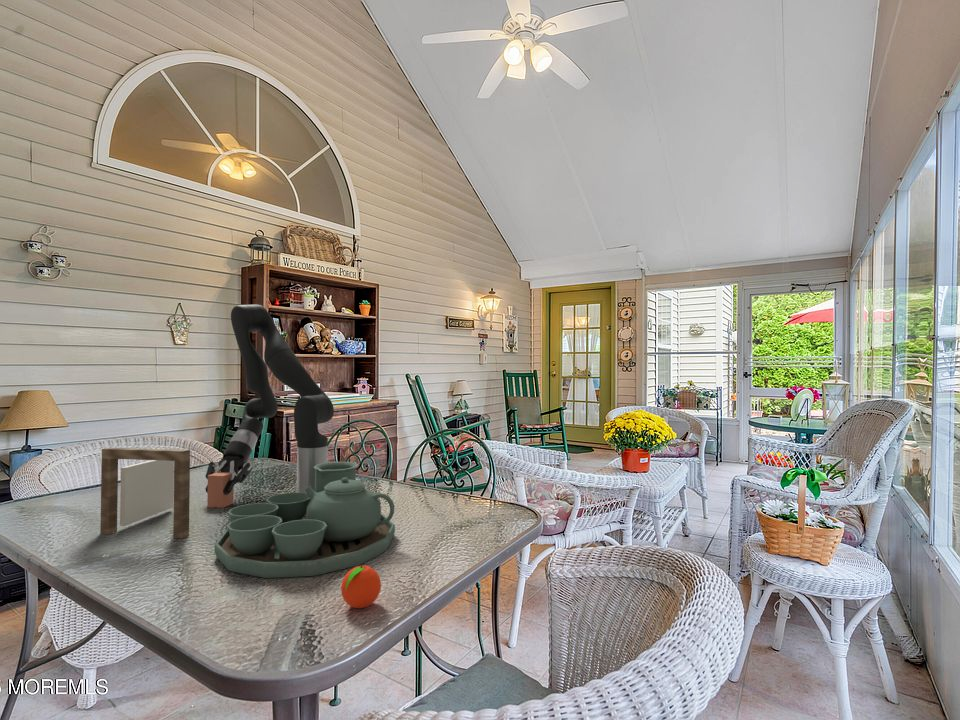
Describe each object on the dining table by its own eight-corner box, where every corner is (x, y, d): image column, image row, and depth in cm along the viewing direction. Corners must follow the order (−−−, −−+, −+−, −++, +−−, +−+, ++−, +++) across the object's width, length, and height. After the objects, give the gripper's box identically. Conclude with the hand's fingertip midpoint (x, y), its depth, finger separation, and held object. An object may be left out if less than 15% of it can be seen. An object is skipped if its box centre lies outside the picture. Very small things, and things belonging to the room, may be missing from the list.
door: (165, 507, 146) (166, 455, 146) (173, 507, 146) (174, 456, 146) (115, 525, 129) (116, 467, 129) (124, 526, 128) (125, 467, 129)
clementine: (362, 622, 83) (362, 579, 83) (328, 614, 86) (328, 572, 86) (388, 601, 91) (388, 561, 91) (356, 594, 93) (356, 556, 93)
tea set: (225, 529, 130) (226, 466, 130) (379, 514, 145) (380, 457, 145) (201, 595, 93) (202, 506, 93) (411, 565, 108) (411, 489, 108)
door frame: (188, 535, 125) (190, 449, 125) (182, 538, 123) (183, 451, 123) (108, 530, 128) (109, 447, 128) (100, 534, 125) (101, 448, 126)
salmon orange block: (233, 503, 154) (233, 472, 154) (222, 507, 149) (223, 476, 149) (218, 502, 155) (218, 472, 155) (207, 507, 150) (207, 475, 150)
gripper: (215, 439, 160) (188, 485, 148) (257, 440, 158) (233, 487, 146) (225, 452, 165) (200, 498, 153) (266, 454, 164) (243, 500, 152)
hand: (216, 492), depth 150 cm, fingers closed on salmon orange block, 5 cm apart
